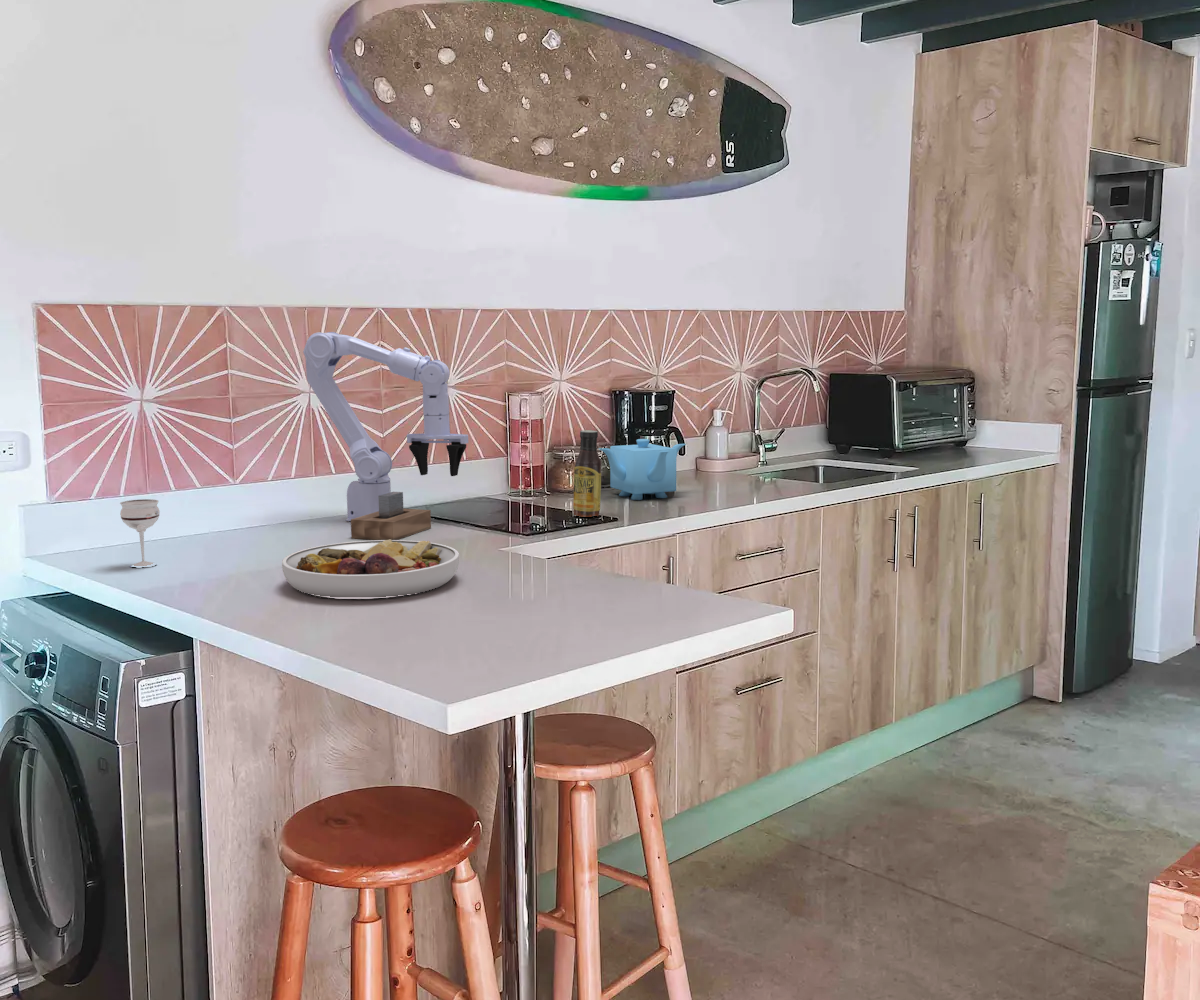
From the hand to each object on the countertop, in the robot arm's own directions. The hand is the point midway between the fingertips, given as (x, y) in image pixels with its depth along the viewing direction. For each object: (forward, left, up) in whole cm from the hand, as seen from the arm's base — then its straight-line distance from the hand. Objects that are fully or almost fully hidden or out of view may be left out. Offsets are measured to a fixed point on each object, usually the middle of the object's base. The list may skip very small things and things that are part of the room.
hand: (439, 475), depth 260 cm
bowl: (+19, -59, -11) cm, 63 cm away
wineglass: (-29, -61, -11) cm, 69 cm away
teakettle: (+33, +49, -11) cm, 60 cm away
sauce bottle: (+30, +16, -11) cm, 35 cm away
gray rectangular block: (-2, -17, -10) cm, 20 cm away
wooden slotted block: (-2, -17, -10) cm, 20 cm away
